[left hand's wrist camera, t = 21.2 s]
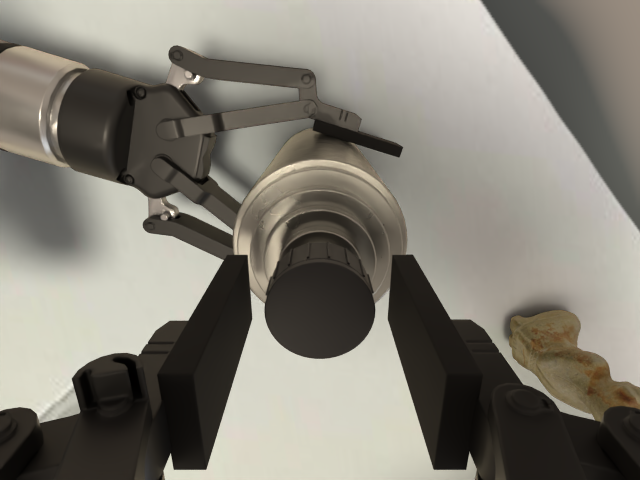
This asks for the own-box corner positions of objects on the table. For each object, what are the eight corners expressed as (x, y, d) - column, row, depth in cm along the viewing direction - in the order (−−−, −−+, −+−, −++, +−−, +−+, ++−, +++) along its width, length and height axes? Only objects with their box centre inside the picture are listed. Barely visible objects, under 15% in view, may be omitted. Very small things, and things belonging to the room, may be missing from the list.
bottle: (258, 186, 37) (159, 331, 14) (306, 108, 34) (279, 130, 12) (332, 232, 38) (349, 428, 16) (382, 160, 36) (490, 270, 13)
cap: (249, 273, 14) (239, 298, 13) (335, 220, 14) (337, 239, 12) (305, 344, 16) (304, 377, 14) (388, 299, 15) (397, 327, 13)
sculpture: (563, 347, 43) (683, 470, 29) (497, 350, 43) (584, 474, 29) (572, 300, 41) (706, 408, 27) (503, 304, 41) (599, 413, 27)
